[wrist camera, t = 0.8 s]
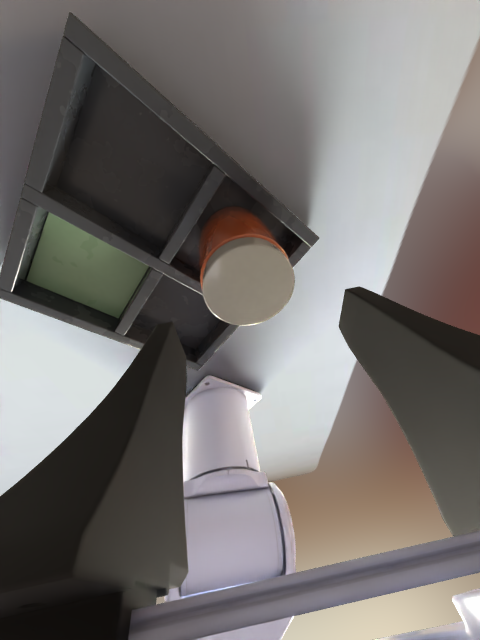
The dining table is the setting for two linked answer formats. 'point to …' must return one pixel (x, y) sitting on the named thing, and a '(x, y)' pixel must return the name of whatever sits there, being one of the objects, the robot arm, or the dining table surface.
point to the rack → (125, 206)
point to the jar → (243, 268)
